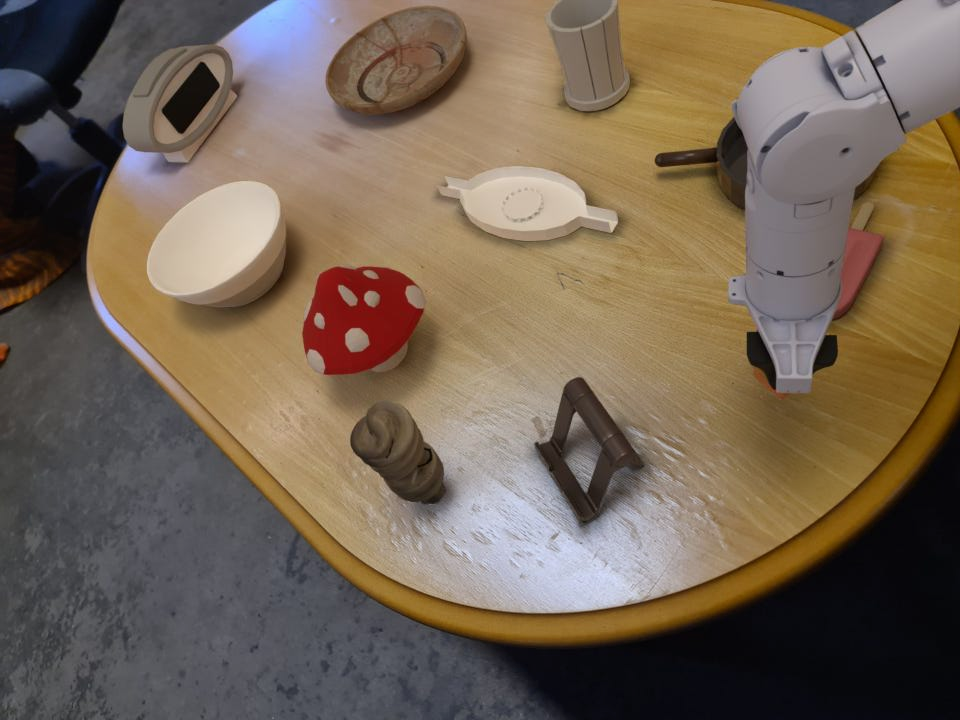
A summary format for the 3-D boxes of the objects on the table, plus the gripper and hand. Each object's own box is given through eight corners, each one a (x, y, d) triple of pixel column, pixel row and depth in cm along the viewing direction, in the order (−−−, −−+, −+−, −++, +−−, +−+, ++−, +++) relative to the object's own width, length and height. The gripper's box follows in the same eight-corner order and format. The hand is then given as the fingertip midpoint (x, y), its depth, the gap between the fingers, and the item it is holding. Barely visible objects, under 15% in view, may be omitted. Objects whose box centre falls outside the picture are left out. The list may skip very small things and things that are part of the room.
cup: (545, 113, 95) (523, 33, 85) (566, 70, 99) (547, -11, 89) (620, 113, 90) (605, 29, 81) (639, 68, 94) (627, -18, 84)
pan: (871, 108, 78) (875, 82, 75) (883, 214, 70) (889, 189, 67) (719, 125, 83) (718, 101, 81) (715, 224, 75) (714, 201, 73)
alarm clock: (180, 176, 115) (126, 114, 105) (155, 175, 118) (100, 114, 108) (250, 84, 125) (206, 18, 115) (225, 85, 128) (180, 21, 118)
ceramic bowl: (311, 121, 112) (295, 95, 108) (391, 29, 120) (379, 2, 116) (422, 140, 100) (408, 112, 96) (502, 37, 108) (492, 7, 104)
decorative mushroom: (449, 297, 82) (398, 206, 70) (448, 397, 74) (391, 314, 62) (341, 321, 85) (275, 238, 73) (329, 419, 77) (253, 344, 65)
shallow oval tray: (464, 163, 94) (460, 153, 93) (634, 195, 81) (632, 184, 80) (424, 218, 91) (419, 208, 89) (594, 261, 78) (591, 250, 76)
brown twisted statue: (442, 457, 70) (380, 381, 58) (476, 491, 67) (418, 418, 55) (401, 497, 69) (329, 427, 57) (433, 533, 66) (364, 468, 54)
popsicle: (900, 203, 68) (844, 319, 63) (897, 214, 69) (842, 329, 64) (842, 192, 71) (784, 303, 66) (840, 203, 72) (783, 312, 67)
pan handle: (724, 154, 78) (724, 143, 77) (724, 164, 77) (724, 153, 76) (655, 161, 81) (654, 150, 80) (654, 170, 80) (653, 160, 79)
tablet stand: (536, 452, 67) (514, 410, 61) (607, 411, 67) (591, 365, 61) (581, 527, 62) (562, 490, 55) (658, 482, 62) (647, 440, 55)
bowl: (168, 284, 100) (128, 246, 93) (276, 203, 103) (245, 160, 96) (216, 359, 88) (173, 322, 82) (336, 265, 91) (305, 221, 84)
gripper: (728, 165, 48) (732, 286, 59) (724, 339, 41) (729, 441, 52) (842, 154, 46) (824, 283, 56) (859, 337, 38) (835, 445, 49)
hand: (785, 359), depth 54 cm, fingers closed on supplement box, 4 cm apart
